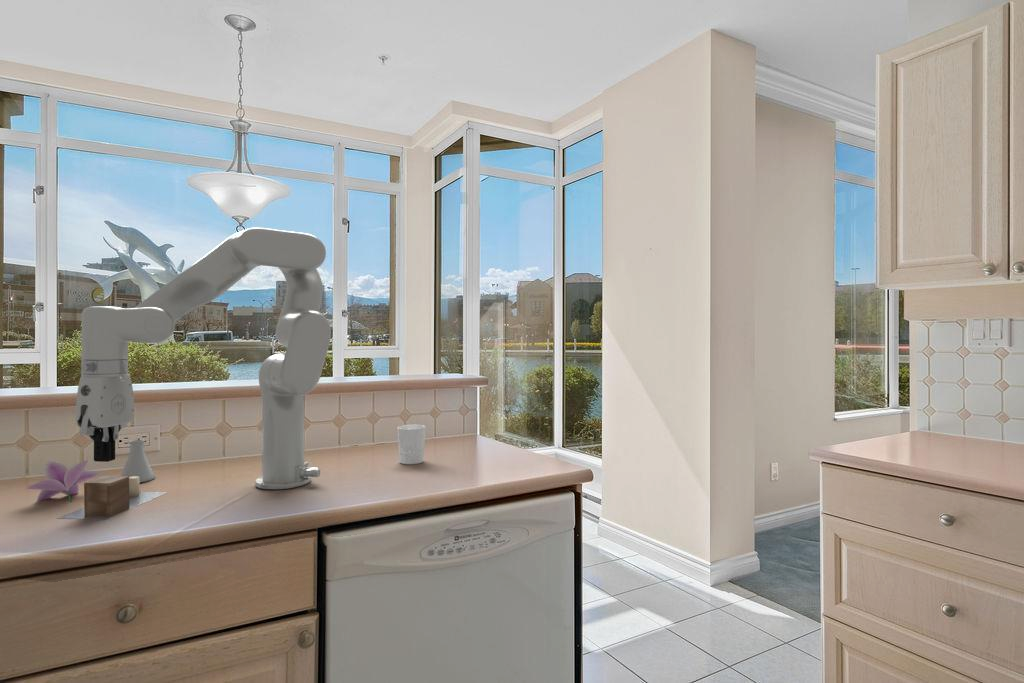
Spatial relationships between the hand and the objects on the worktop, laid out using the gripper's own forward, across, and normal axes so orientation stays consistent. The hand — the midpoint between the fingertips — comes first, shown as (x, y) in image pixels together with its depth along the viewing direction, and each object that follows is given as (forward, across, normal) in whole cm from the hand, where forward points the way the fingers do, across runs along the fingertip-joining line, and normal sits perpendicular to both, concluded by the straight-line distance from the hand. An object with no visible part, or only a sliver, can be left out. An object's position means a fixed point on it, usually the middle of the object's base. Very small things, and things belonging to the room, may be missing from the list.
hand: (104, 460), depth 112 cm
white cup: (+10, +50, -50) cm, 72 cm away
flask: (+11, +26, +13) cm, 31 cm away
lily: (+12, +8, +16) cm, 21 cm away
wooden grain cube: (+10, 0, 0) cm, 11 cm away
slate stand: (+11, +5, +2) cm, 13 cm away
